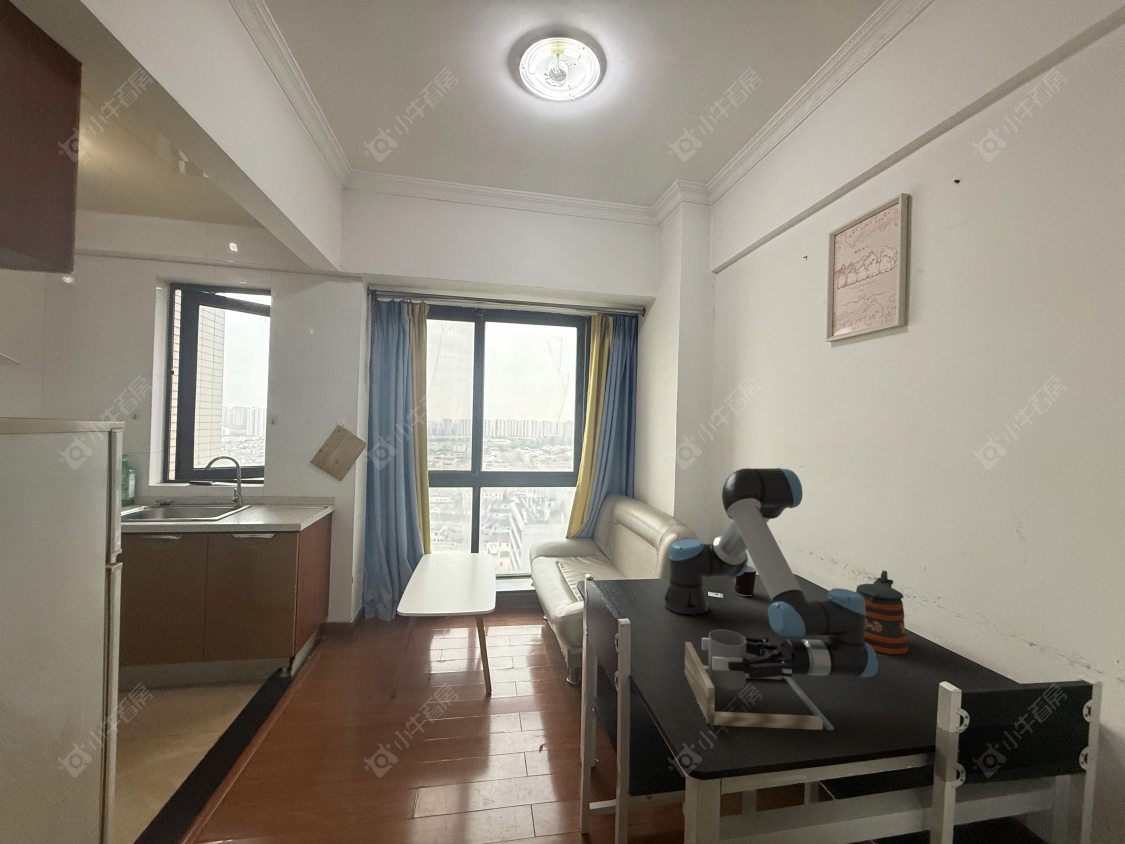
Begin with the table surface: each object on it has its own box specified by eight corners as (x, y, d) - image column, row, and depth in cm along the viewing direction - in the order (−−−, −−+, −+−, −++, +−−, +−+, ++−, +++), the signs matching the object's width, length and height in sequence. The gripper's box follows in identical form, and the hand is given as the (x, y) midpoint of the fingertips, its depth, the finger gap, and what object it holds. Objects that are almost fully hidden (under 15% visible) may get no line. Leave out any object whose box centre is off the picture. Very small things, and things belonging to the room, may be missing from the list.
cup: (744, 673, 111) (745, 633, 111) (746, 692, 103) (747, 648, 103) (708, 667, 114) (709, 627, 114) (707, 684, 106) (708, 642, 106)
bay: (707, 724, 98) (707, 687, 98) (684, 672, 119) (685, 641, 119) (833, 730, 97) (834, 692, 97) (788, 676, 118) (788, 645, 118)
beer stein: (854, 624, 152) (855, 563, 152) (909, 637, 142) (910, 573, 142) (845, 644, 137) (846, 577, 137) (906, 660, 128) (907, 589, 128)
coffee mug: (754, 599, 171) (754, 573, 172) (730, 595, 176) (730, 569, 176) (759, 590, 181) (759, 565, 181) (736, 586, 186) (736, 562, 186)
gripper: (827, 699, 97) (720, 695, 98) (783, 650, 118) (695, 646, 119) (828, 664, 97) (721, 660, 98) (784, 621, 118) (696, 618, 119)
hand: (707, 653), depth 109 cm, fingers closed on cup, 8 cm apart
